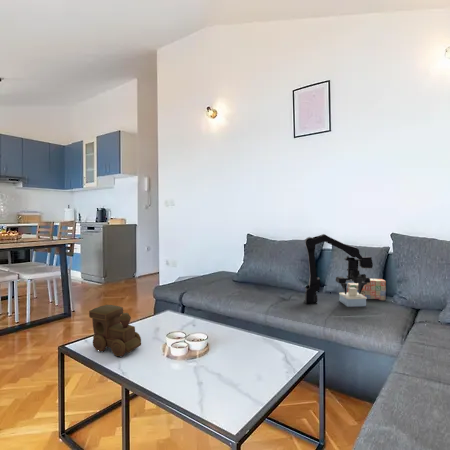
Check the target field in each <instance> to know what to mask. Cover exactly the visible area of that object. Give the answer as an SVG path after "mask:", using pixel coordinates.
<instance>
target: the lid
mask: <svg viewBox="0 0 450 450" xmlns="http://www.w3.org/2000/svg"><path fill="white" fill-rule="evenodd" d="M347 288H348V287H347ZM338 294H339V296H340V295H342V296H343V297H345V298H346V299H366V300H368V299H367V297H365V296H363V295H362V294H359V293H358V292H357V289H356V288H354V287H352V288H348V292H347V293H346V294H345V293H344V291H343V292H339V293H338Z"/></svg>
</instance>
